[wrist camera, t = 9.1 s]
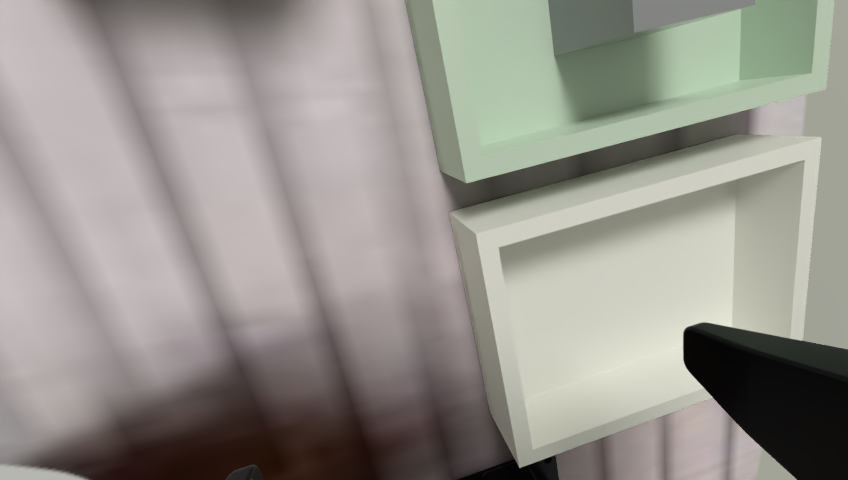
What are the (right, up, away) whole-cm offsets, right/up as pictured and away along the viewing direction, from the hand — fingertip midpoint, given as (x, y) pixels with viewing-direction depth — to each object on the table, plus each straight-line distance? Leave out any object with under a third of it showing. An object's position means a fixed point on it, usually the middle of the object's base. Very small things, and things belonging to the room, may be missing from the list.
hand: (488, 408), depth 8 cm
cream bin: (+9, +1, +14) cm, 17 cm away
